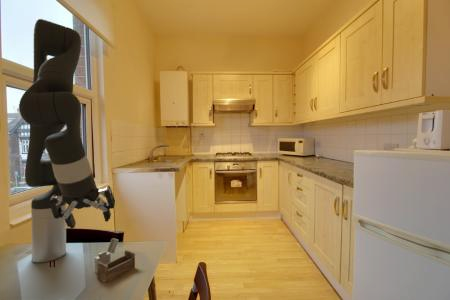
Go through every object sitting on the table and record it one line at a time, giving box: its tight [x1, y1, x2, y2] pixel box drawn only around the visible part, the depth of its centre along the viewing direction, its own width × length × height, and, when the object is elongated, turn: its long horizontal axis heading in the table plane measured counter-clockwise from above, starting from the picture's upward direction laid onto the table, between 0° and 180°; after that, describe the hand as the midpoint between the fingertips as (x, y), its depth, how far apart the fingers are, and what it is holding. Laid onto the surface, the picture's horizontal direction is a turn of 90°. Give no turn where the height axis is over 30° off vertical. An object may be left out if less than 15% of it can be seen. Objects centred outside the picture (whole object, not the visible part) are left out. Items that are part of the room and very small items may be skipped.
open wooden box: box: [97, 249, 136, 283], centre depth 67 cm, size 4×9×4 cm, turn 149°
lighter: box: [94, 237, 119, 274], centre depth 70 cm, size 7×2×8 cm, turn 155°
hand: (90, 222), depth 63 cm, fingers open, 8 cm apart
